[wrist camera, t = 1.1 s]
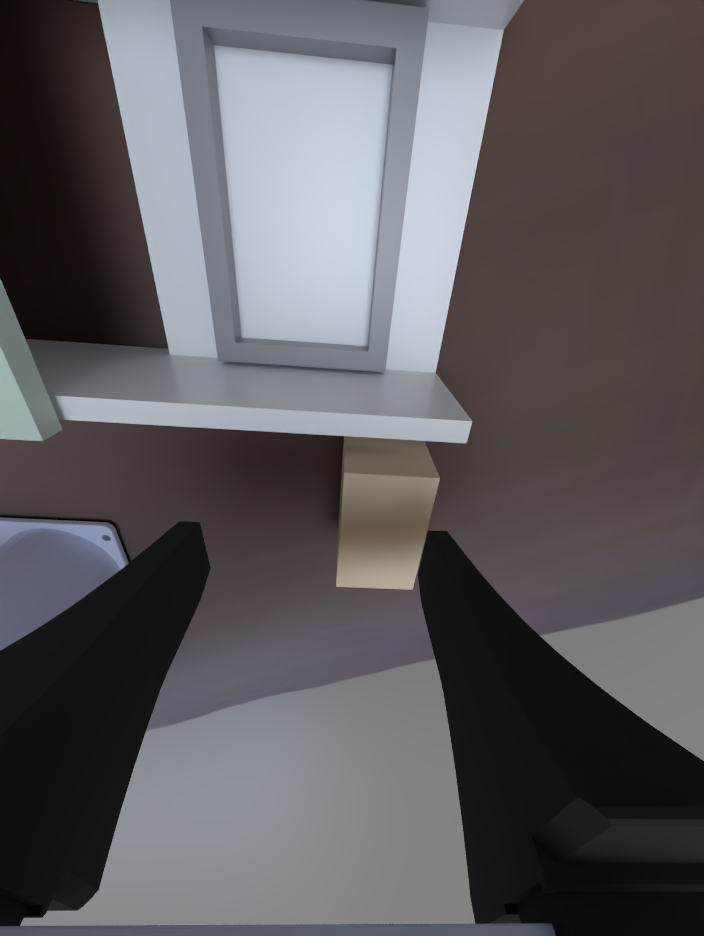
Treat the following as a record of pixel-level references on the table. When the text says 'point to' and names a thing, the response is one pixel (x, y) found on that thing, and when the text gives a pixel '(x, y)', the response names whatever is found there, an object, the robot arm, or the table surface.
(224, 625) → the table surface
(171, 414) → the housing
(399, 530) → the tan rectangular block
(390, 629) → the table surface
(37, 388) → the lid
